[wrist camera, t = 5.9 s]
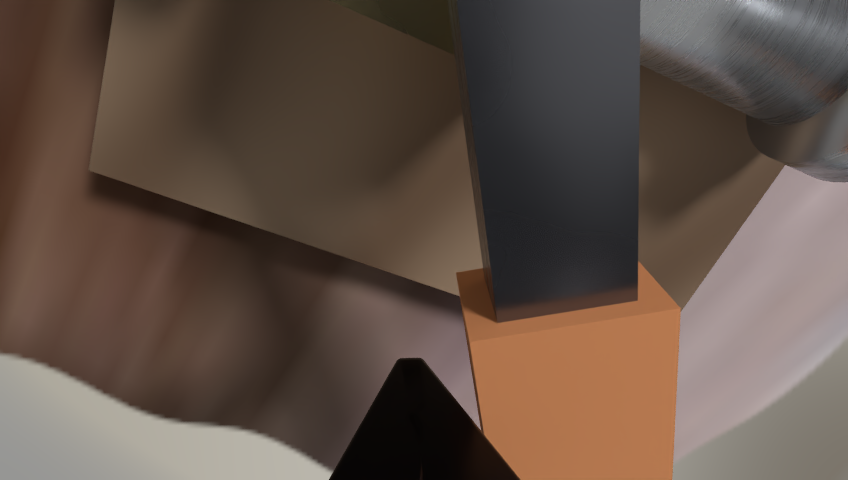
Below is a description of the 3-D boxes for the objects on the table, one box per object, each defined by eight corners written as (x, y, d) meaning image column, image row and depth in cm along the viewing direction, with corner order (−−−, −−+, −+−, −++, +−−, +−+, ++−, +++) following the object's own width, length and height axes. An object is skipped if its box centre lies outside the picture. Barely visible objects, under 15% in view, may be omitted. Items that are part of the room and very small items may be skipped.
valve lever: (362, -315, 5) (344, -457, 4) (621, -369, 5) (722, -537, 4) (488, 476, 10) (504, 570, 8) (624, 456, 10) (668, 546, 8)
